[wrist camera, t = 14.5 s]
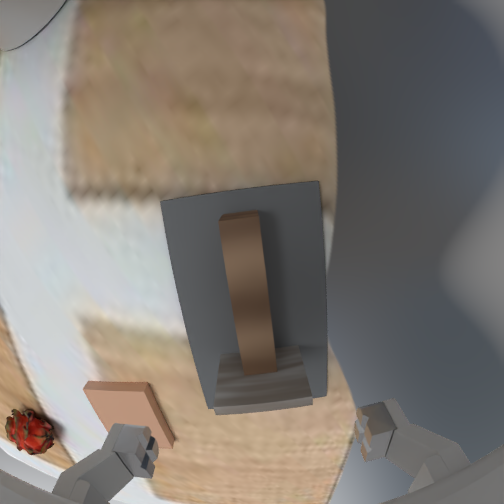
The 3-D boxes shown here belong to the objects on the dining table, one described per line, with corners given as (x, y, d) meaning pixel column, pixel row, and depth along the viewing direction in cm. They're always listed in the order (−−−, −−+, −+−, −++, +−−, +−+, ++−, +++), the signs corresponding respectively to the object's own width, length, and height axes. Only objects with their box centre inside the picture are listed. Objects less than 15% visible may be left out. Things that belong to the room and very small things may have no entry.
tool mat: (162, 200, 26) (160, 201, 25) (317, 181, 26) (318, 181, 25) (208, 405, 32) (208, 408, 31) (325, 392, 32) (326, 396, 31)
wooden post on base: (194, 218, 26) (172, 237, 18) (285, 206, 25) (302, 220, 18) (222, 361, 29) (215, 415, 22) (298, 352, 29) (312, 404, 22)
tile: (82, 389, 29) (116, 444, 32) (143, 391, 29) (172, 448, 32) (89, 379, 32) (120, 434, 34) (148, 380, 31) (175, 437, 34)
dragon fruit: (19, 407, 36) (62, 408, 37) (29, 449, 33) (74, 453, 34) (-10, 408, 28) (33, 410, 29) (2, 454, 25) (47, 462, 26)
